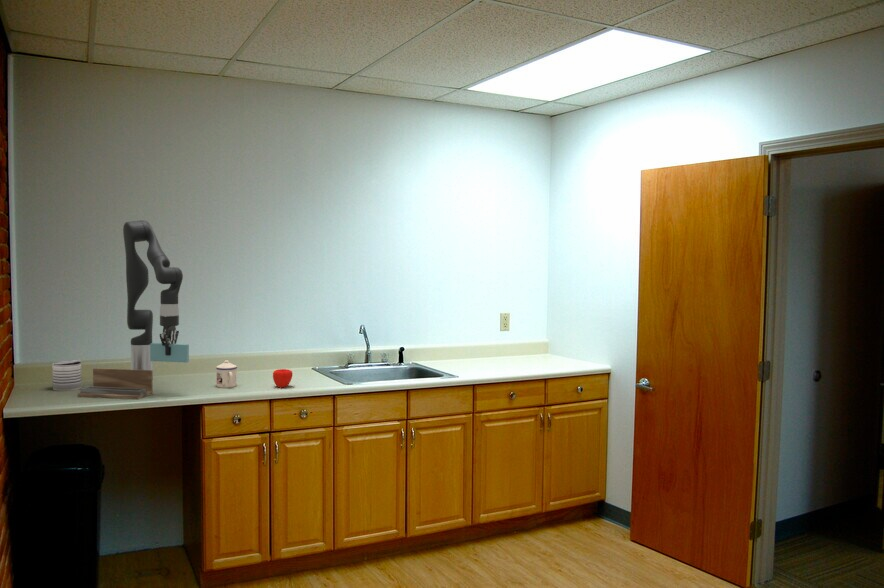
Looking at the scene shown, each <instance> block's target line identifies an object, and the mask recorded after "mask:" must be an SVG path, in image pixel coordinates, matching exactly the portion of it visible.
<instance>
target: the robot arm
mask: <svg viewBox="0 0 884 588" xmlns="http://www.w3.org/2000/svg"><path fill="white" fill-rule="evenodd" d="M154 231H155V230H153V227H152V225H151V224H150V222H149V221H148V220H131V221H126V222H124V224H123V228H122V233H123V242H124V251H125V276H126V277H125V279H126V280H125V281H126V293H127V303H126V305H127V307H126V309H127V310H126V311H127V312H126V323H127V325H126V326H127V328H128V329H129V330H135V331H137V330H139V331H141V330H142V331H143V330H144V332H143V333H141V334H140V335H137V336H135V337H132V338H131V339H130V369H131V370H153V371H154V361H150V344H151V343H153V327H154V325H153V323H154V313H153V311H152V310H151V309H136V304H137V302H138V301H139V300H140V297H141V296H142V295H143V293H144V292H145V290H146V289H147V288H148V285H149V283H150V282H149V281H150V280H149V279H150V278H149V277H150V276H149V269H148V266H147V264H146V263H145V262H144V261H143V260H142V259H141V257H140V256H139V254H138V252H137V250H136V245H135V244H136V243H139V242H147V243H148V247H147V250H146V257H147V261H148V262H149V263H150V265H151V267H152V268H153V270H154V271H153V272H154V274H155V275H154V276H155V279H156V281H157V282H158V283H159V284H161V285H169V287H168V288H166V289H162V290H161V292H160V306H159V325H160V326H161V327H162V333H160V334H159V338H160V342H161V343H162V346H165V355H166V356H170V355H171V344H177V342H178V339H179V338H178V336H179V330H177V328H176V327H177V326H179V325H180V308H179V293H180V289H181V285H182V282H183V280H184V279H183V278H184V277H183V276H184V275H183V271H182V269H180V267H175V266H173V267H170V266H171V262H170V259H169V258H168V256H167V255H166V253H165V252H164V251H163V249H162V247H161V245H160V243H159V240H158V239H157V238H158V237H157V236H156V233H155V232H154Z"/></svg>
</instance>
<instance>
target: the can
mask: <svg viewBox="0 0 884 588" xmlns="http://www.w3.org/2000/svg"><path fill="white" fill-rule="evenodd" d="M51 365H52V368H51V369H52V389H53V391H58V390H66V391H73V390H74V389H75V390H80V389H81V388H82V360H81V359H73V360H63V361H62V360H61V361H58V362H57V361H56V362H53V363H52V364H51ZM75 390H74V391H75Z"/></svg>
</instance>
